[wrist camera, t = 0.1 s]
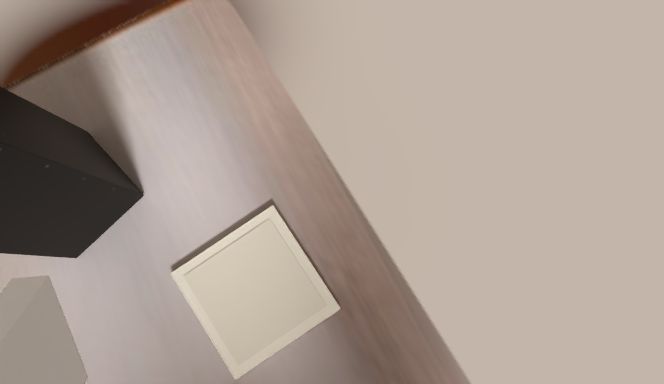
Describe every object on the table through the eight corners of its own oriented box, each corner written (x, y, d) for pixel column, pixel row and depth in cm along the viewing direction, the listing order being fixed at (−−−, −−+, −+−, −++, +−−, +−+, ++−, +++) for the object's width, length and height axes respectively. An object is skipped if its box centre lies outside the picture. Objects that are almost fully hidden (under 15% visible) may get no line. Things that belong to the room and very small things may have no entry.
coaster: (341, 308, 47) (340, 309, 47) (236, 379, 47) (234, 380, 46) (273, 205, 49) (272, 204, 48) (172, 273, 49) (169, 273, 48)
